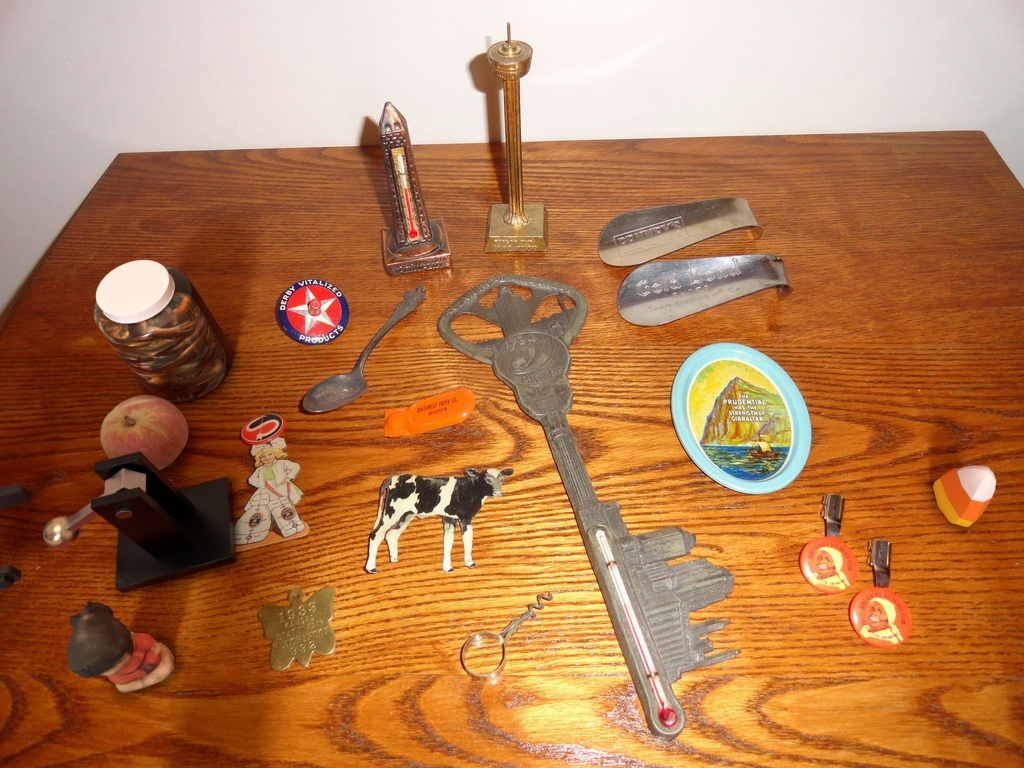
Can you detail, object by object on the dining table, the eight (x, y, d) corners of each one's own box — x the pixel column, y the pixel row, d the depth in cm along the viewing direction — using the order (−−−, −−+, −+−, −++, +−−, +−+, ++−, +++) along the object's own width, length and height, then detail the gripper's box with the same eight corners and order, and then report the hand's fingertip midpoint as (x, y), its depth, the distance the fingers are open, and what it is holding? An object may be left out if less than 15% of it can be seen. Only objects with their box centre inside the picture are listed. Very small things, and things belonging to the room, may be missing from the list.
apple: (213, 437, 84) (185, 400, 77) (162, 497, 80) (127, 464, 73) (160, 410, 87) (128, 373, 80) (107, 467, 82) (69, 433, 76)
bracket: (122, 593, 73) (44, 544, 62) (125, 510, 79) (54, 450, 68) (236, 561, 75) (180, 508, 64) (231, 481, 80) (180, 419, 69)
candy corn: (924, 482, 77) (959, 446, 70) (950, 479, 77) (988, 443, 70) (948, 532, 73) (988, 500, 67) (976, 529, 73) (1018, 497, 67)
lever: (67, 556, 71) (34, 550, 69) (69, 527, 73) (37, 521, 70) (149, 499, 67) (118, 491, 65) (150, 470, 69) (119, 461, 66)
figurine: (101, 673, 69) (27, 641, 59) (146, 625, 71) (82, 587, 62) (141, 712, 67) (71, 686, 57) (187, 661, 69) (127, 628, 59)
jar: (253, 349, 91) (207, 269, 79) (190, 416, 86) (130, 341, 74) (187, 318, 95) (134, 237, 83) (123, 380, 89) (55, 303, 77)
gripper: (-214, 641, 59) (-14, 587, 61) (-169, 495, 67) (7, 451, 69) (-143, 661, 65) (37, 612, 67) (-109, 525, 73) (51, 485, 75)
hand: (22, 531), depth 68 cm, fingers open, 8 cm apart
